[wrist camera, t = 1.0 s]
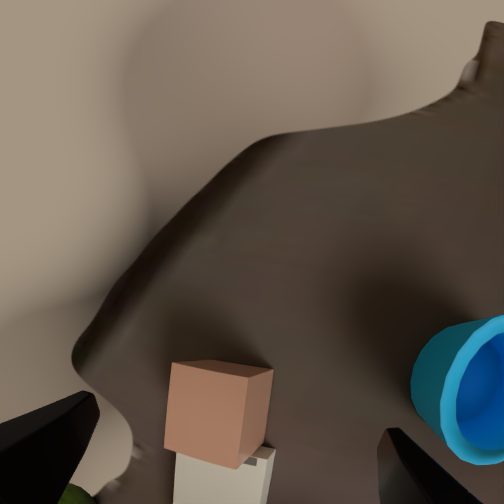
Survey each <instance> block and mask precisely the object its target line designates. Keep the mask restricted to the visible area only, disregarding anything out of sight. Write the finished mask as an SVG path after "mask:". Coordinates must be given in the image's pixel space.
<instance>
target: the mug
mask: <svg viewBox="0 0 504 504" xmlns="http://www.w3.org/2000/svg"><path fill="white" fill-rule="evenodd" d="M410 385H411V399H412V401H413V404H414V406H415V408H416V411H417V413H418V414H419V415H420V416H421V417H422V418H423V420H424V421H425V422H426V423H427V424H428V425H429V426H430V427H431V428H432V429H433V430H434V431H435V433H436V434H437V435H438V436H439V437H440V438H441V439H442V440H443V441H444V442H445V443H446V444H447V446H448V447H449V448H450V449H451V450H452V451H453V452H454V453H455V454H456V455H457V456H458V457H459V458H460V459H461V460H464V461H467V462H470V463H472V464H475V465H488V464H497V463H499V462H501V461H504V314H503V315H498V316H494V317H490V318H485V319H481V320H476V321H471V322H466V323H461V324H458V325H454V326H450V327H447V328H445V329H444V330H442V331H441V332H439V333H438V334H436V335H434V336H433V337H432V338H431V340H430V341H429V342H428V343H427V344H426V345H425V346H424V347H423V349H422V350H421V352H420V354H419V356H418V358H417V360H416V362H415V364H414V367H413V372H412V377H411V381H410Z"/></svg>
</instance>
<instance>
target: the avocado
mask: <svg viewBox="0 0 504 504" xmlns="http://www.w3.org/2000/svg"><path fill="white" fill-rule="evenodd" d="M58 504H96V502H95V501H94V500H93V498H92V497H91V496H90V494H88V493H87V492H86V491H85V490H84V489H82V488H81V487H79V486H76V485H74V484H70V483H68V485H67V487H66V489H65V491H64V493H63V494H62V496H61V498H60V500H59V502H58Z"/></svg>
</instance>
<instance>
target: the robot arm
mask: <svg viewBox="0 0 504 504" xmlns="http://www.w3.org/2000/svg"><path fill="white" fill-rule="evenodd" d="M99 417H100V410H99V407H98V404H97V401H96V398H95V396H94V394H92V393H90V392H87V391H80V392H77V393H75V394H73V395H70V396H68V397H66V398H63V399H61V400H59V401H56V402H54V403H51V404H49V405H46V406H44V407H42V408H39V409H37V410H34V411H32V412H29V413H27V414H24V415H21V416H19V417H16V418H14V419H11V420H9V421H6V422H3V423H1V424H0V504H58V502H59V500H60V498H61V496H62V494H63V493H64V491H65V489H66V487H67V485H68V483H69V481H70V479H71V477H72V476H73V474H74V472H75V470H76V468H77V466H78V464H79V462H80V461H81V459H82V457H83V455H84V453H85V451H86V449H87V447H88V444H89V442H90V439H91V437H92V434H93V432H94V429H95V427H96V425H97V422H98V420H99ZM377 459H378V480H379V496H380V503H381V504H483V503H482V502H480V501H479V500H478V499H477V498H476V497H474V496H473V495H472V494H471V493H470V492H469V493H468V490H467V489H465V488H464V487H463V486H462V485H461V484H460V483H459V482H458V481H457V480H455V479H454V478H453V477H452V476H451V475H450V474H449V473H448V472H447V471H446V470H444V469H443V468H442V467H441V466H440V465H439V464H438V463H437V462H436V461H435V460H434V459H432V458H431V457H430V456H429V455H428V454H427V453H426V452H425V451H424V450H423V449H422V448H421V447H419V446H418V445H417V444H416V443H415V442H414V441H413V440H412V439H411V438H410V437H409V436H408V435H407V434H406V433H404V432H403V431H402V430H401V429H400V428H387V429H386V430H385V431H384V433H383V435H382V438H381V440H380V442H379V445H378V448H377Z"/></svg>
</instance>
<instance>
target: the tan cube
mask: <svg viewBox="0 0 504 504" xmlns="http://www.w3.org/2000/svg"><path fill="white" fill-rule="evenodd" d="M273 371H274V369H268V368H261V367H254V366H247V365H241V364H235V363H229V362H223V361H218V360H212V359H211V360H199V361H186V362H172V368H171V376H170V386H169V395H168V405H167V416H166V428H165V440H164V448H166V449H169V450H172V451H175V452H177V453H180V454H183V455H186V456H189V457H193V458H196V459H199V460H202V461H206V462H209V463H212V464H216V465H220V466H223V467H227V468H231V469H235V470H236V469H238V468H239V467H240V466H241V465H242V464H243V463H244V462H245V461H246V460H247V459H248V458H249V457H250V456H251V455H252V454H253V453H254V452H255V451H256V450H257V449H258V448H259V447H260V446H261V445H262V444H263V442H264V436H265V429H266V422H267V415H268V408H269V401H270V394H271V386H272V379H273Z"/></svg>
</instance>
